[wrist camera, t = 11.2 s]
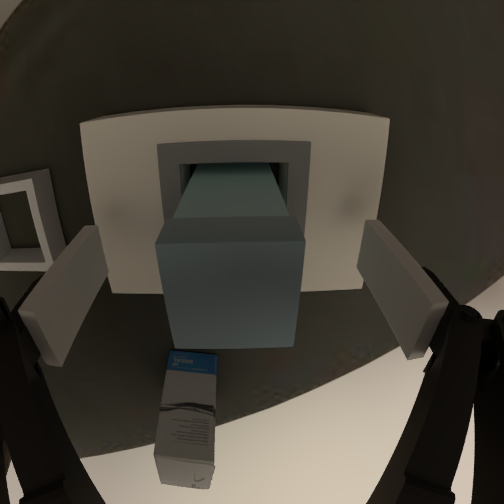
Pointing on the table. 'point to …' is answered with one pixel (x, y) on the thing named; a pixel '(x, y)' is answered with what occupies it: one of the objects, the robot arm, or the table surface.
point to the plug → (231, 261)
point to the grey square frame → (44, 221)
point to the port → (228, 151)
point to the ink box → (187, 421)
